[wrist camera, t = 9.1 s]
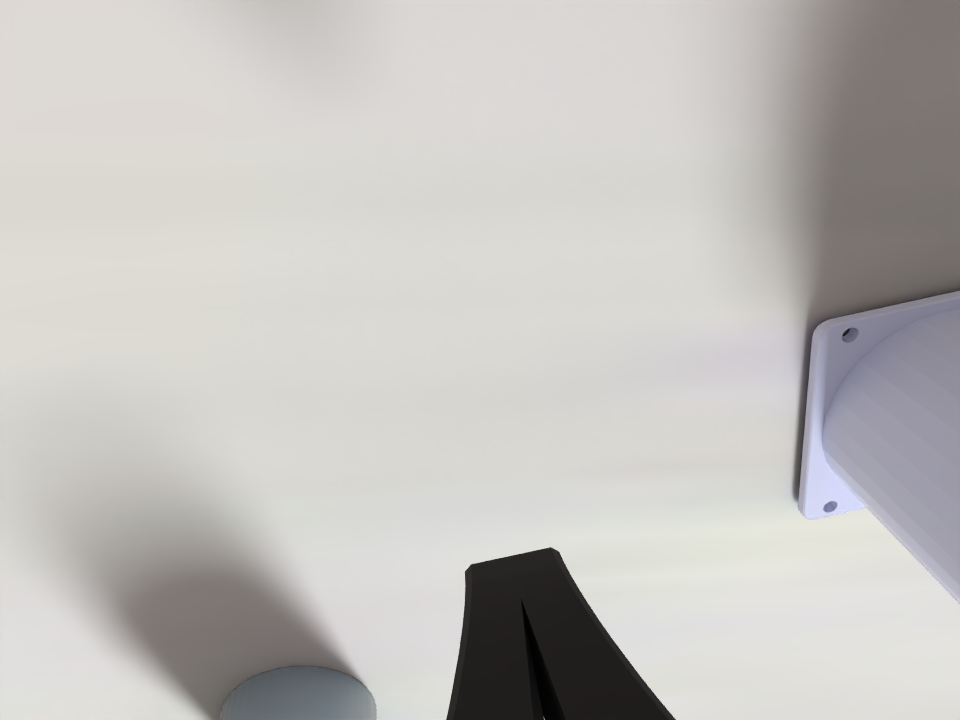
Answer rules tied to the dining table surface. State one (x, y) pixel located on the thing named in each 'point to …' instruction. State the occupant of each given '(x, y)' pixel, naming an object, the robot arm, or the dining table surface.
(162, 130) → the dining table surface
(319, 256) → the dining table surface
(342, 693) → the rounded blue cylinder
